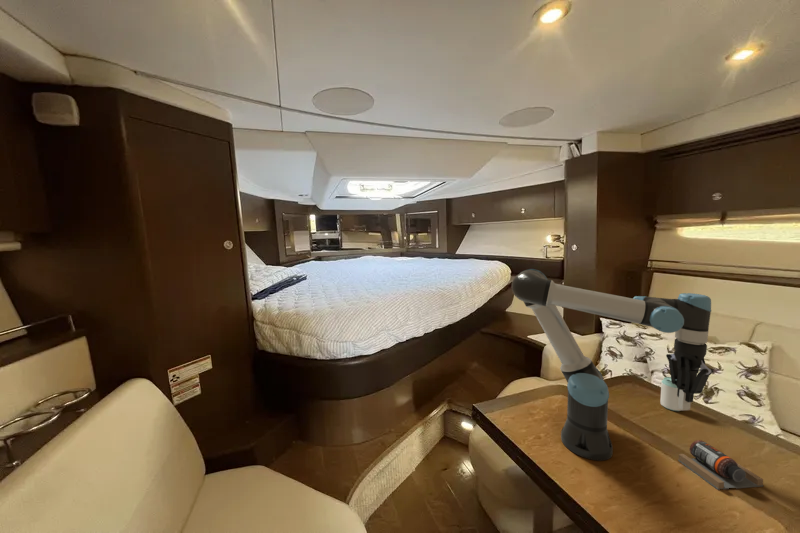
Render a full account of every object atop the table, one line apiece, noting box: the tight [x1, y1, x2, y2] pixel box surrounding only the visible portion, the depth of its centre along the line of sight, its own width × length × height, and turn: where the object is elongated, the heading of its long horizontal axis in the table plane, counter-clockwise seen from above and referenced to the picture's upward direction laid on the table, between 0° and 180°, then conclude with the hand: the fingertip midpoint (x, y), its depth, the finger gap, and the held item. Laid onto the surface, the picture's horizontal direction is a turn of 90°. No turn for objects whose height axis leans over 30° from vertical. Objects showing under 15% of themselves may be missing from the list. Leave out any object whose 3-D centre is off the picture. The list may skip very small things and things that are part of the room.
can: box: [659, 376, 682, 412], centre depth 121 cm, size 7×7×12 cm
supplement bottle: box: [689, 439, 746, 482], centre depth 88 cm, size 6×6×11 cm
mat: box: [677, 453, 764, 491], centre depth 87 cm, size 14×11×2 cm
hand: (683, 408), depth 96 cm, fingers closed
